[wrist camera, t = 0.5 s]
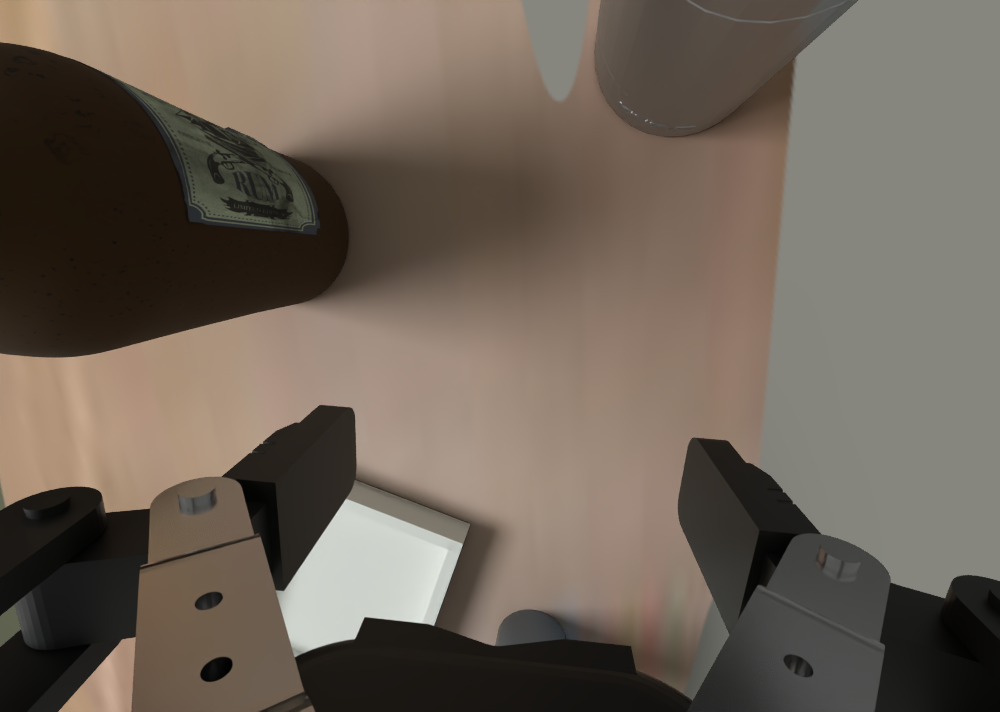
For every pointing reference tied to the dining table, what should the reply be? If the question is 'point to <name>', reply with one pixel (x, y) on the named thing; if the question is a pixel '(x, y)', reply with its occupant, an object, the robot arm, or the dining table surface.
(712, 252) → the dining table surface
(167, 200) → the brown bottle
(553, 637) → the shaker
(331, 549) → the tray
